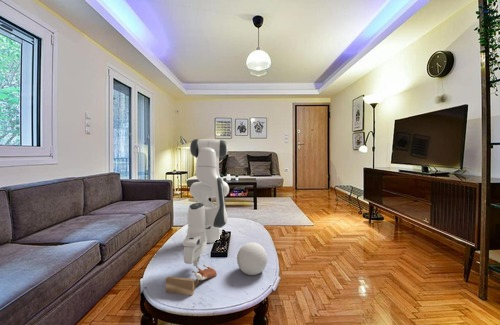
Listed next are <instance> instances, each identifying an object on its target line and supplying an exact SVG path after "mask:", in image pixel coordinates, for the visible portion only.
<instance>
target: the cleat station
mask: <svg viewBox="0 0 500 325" xmlns="http://www.w3.org/2000/svg"><path fill="white" fill-rule="evenodd" d="M199 284H200V280H198V282H197V278H196V279H194V278H189V277H188V278H186V277H180V276H179V277H176V276H167V277H166V278H165V293H169V294H177V295H185V296H193V295H194V294H195V289H196V288H197V287H198V286H199Z"/></svg>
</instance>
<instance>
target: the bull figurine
mask: <svg viewBox="0 0 500 325" xmlns="http://www.w3.org/2000/svg"><path fill="white" fill-rule="evenodd" d="M203 267H205V269H201V268H200V267H199V266H198V265H197V266H195V268H196V269H197V270H198V271H196V270H192V272H191V273H193V275H194V276H195V277H196V279H197V282H198V280H199V281H204V280H208V279H211V278H214V277H216V276H217V274H218V273H217V271H216V270H215V268H213V267H211V266H209V265H207V264H203Z"/></svg>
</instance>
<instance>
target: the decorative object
mask: <svg viewBox="0 0 500 325" xmlns="http://www.w3.org/2000/svg"><path fill="white" fill-rule="evenodd" d="M236 261H237V262H236V263H237V265H238V268H239V270H241V271H242V272H243V274H245V275H249V276H256V275H259V274H260V273H262V272H263V270H265V268H266V266H267V263H268V254H267V251H266V249H265V248H264V247H263V246H262V245H261V244H260V243H258V242H254V241H253V242H252V241H251V242H247V243H245V244H243V245H242V246H241V247H240V249H239V250H238V251H237V257H236Z"/></svg>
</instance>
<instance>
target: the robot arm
mask: <svg viewBox="0 0 500 325" xmlns="http://www.w3.org/2000/svg"><path fill="white" fill-rule="evenodd" d="M227 143H228V142H227V141H226V140H223V139H222V140H221V139H216V138H215V139H213V138H207V139H206V138H204V139H202V138H196V139H193V140H192V141H191V142H190V145H189V152H190V154H191V155H192V156H193V157H194V158H196V165H195V176H196V178H197V180H198V181H196V182H192V184H191V185H190V187H189V193H190V195H191V196H192V197H193V198H194V199H195V200H196V201H197V202H195V203H194V202H193V203H191V204H190V205H189V207H188V210H187V222H186V223H187V231H186V235H185V238H184V240H183V241H182V246H184V247H183V262H184V263H185V264H190V265H192V264H193V266H194V267H196V266H198V265H199V264H200V260H201V255H202V254H203V253H204V252H205V250H207V247H208V245H207V244H208V243H209V244H213V243H216V242H215V241H216V240H219V239H220V235H221V234H222V232H223V229H222V228H223V227H224V226H225V225H227V223H228V212H227V208H226V207H227V206H226V198H225V197H227V195H229V193H230V187H229V184H228V183H227V182H226V181H224V180H223V178H222V177H221V176H220V163H219V162H220V159H223V158H226V156H227V154H228V152H229V146H228V144H227ZM212 198H213V199H215V202H216V203H214V202H211V201H210V200H209V199H212Z"/></svg>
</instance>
